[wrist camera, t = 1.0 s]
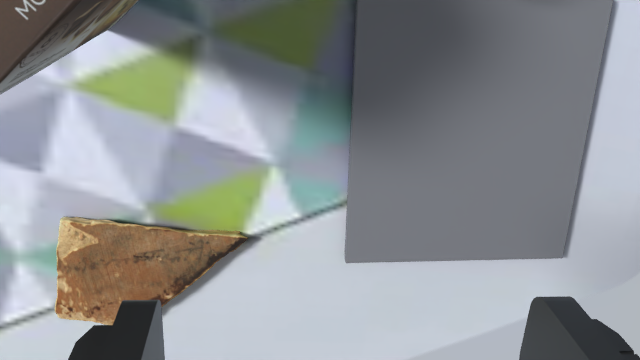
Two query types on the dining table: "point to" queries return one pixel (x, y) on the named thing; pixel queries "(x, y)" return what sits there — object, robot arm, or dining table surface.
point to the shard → (129, 264)
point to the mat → (469, 126)
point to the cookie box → (49, 32)
